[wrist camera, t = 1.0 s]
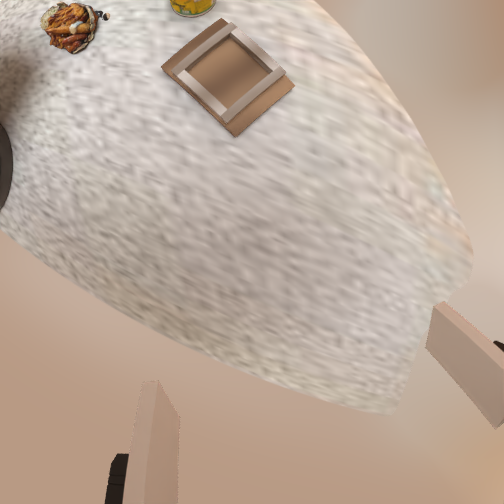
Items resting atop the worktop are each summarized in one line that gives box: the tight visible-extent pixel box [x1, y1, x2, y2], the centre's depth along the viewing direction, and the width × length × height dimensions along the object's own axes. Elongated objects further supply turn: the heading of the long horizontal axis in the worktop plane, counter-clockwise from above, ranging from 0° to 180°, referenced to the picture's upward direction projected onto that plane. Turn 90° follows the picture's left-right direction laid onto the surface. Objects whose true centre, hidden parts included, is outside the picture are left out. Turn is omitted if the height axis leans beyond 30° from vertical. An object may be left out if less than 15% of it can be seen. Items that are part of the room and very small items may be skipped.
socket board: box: [161, 18, 295, 137], centre depth 26 cm, size 12×9×3 cm
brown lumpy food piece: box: [40, 2, 110, 53], centre depth 20 cm, size 7×12×4 cm, turn 57°
